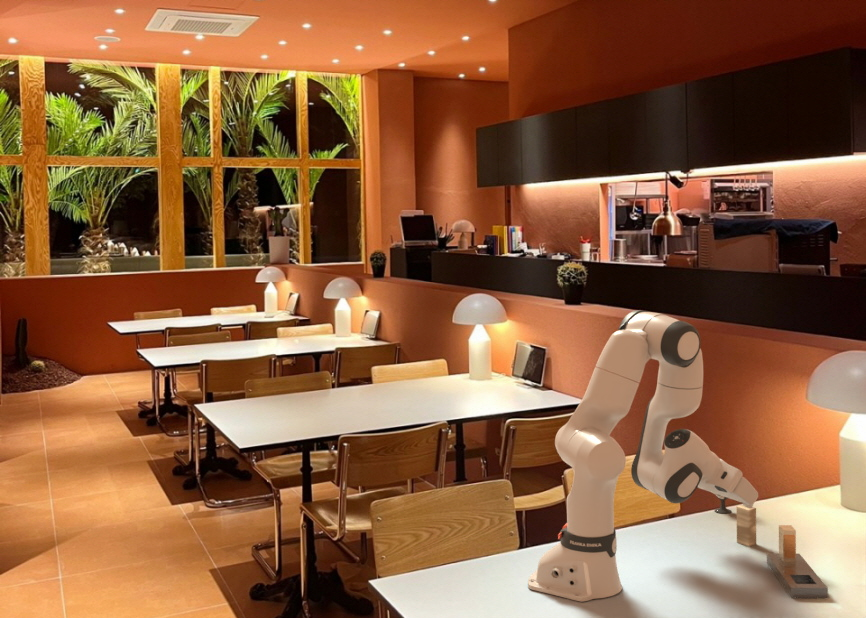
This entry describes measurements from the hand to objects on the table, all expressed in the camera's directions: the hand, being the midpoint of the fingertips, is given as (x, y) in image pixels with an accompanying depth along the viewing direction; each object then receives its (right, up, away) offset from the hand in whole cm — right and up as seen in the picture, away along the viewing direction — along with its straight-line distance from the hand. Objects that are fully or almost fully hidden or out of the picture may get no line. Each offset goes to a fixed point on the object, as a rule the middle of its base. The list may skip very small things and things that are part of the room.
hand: (736, 501), depth 237 cm
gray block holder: (+6, -14, -23) cm, 28 cm away
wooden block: (+4, -12, +3) cm, 13 cm away
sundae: (+7, -10, +30) cm, 33 cm away
